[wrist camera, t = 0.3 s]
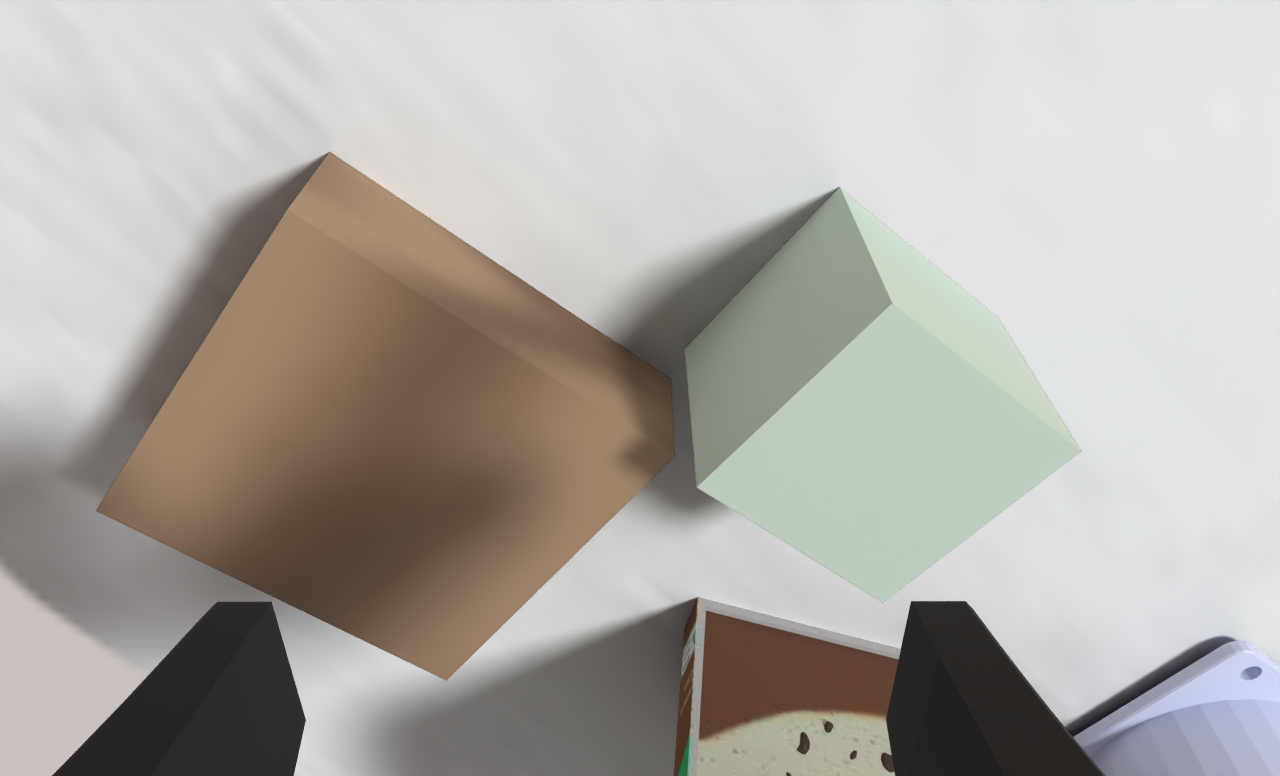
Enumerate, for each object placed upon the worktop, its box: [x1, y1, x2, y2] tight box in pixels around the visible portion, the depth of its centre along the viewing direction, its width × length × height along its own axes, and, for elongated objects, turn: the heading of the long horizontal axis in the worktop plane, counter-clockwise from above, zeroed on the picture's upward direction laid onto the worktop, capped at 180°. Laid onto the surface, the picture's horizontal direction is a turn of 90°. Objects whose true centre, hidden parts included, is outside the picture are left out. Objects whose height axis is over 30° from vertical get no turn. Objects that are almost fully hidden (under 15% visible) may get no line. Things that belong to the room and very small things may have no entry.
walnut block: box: [96, 152, 675, 680], centre depth 20 cm, size 8×8×3 cm
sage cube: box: [685, 187, 1081, 603], centre depth 18 cm, size 4×4×4 cm
